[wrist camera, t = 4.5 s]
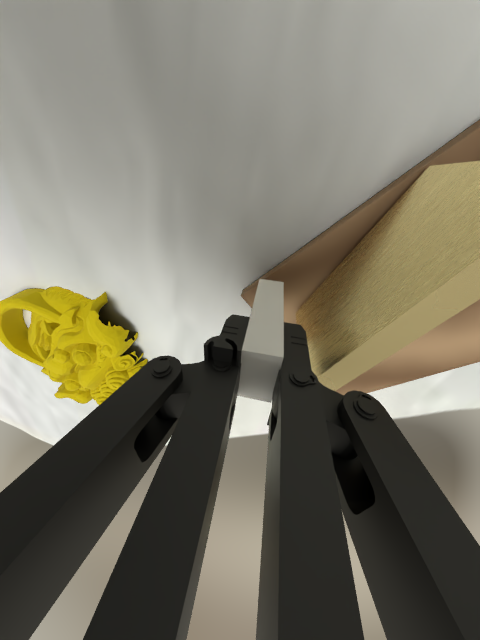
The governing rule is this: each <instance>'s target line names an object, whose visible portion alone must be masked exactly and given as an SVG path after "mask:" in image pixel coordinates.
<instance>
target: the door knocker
mask: <svg viewBox="0 0 480 640" xmlns="http://www.w3.org/2000/svg"><path fill="white" fill-rule="evenodd" d="M107 302H108V300H107V294H106V292H104V293H103V294H102V295H101V296H100V297H97V298H96V300H94V299H93V300H91V299H87V298H84V296H83V295H80V294H78V293H74V292H73V291H71V290H68V289H63V288H61V287H57V286H55V287H50V288H48V289H46V290H44V289H37V288H34V289H26V290H23V291H21V292H19V293H17V294H15V295H13V296H11V297H9V298H6V299H4V300H2V301H0V341H1V342H2V343H3V344H4V345H5V346H6V347H7V348H8V349H9V350H11V351H12V352H13V353H15V354H17V355H18V356H20V357H22V358H24V359H26V360H28V361H30V362H33V363H35V364H37V365H40V366H42V367H44V368H43V369H42V371H41V372H43V373H45V374H46V375H49V377H50V379H51V380H52V381H55V382H62V385H61V386H60V387H59V388H58V391H57V393H56V394H54V395H55V397H56V398H71V399H73V400H75V401H77V402H78V403H82V404H84V403H88V402H89V401H90V400H92V399H94V400H96V402H97V404H99V405H100V404H101V403H102V402H104V401H105V400H106V399H107V398H108V397H109V396H110V395H112V394H113V393H114V392H115V391H116V390H117V389H118V388H119V387H121V386H122V385H123V384H124V383H125V382H126V381H127V380H128V379H130V378H131V377H132V376H133V375H134V374H135V373H136V372H138V371H139V370H140V369H141V367H140V366H144V365H145V364H147V361H148V360H147V359H145V360H143V361H142V362H140V363H138V364H137V365H135V364H136V363H137V362H138V361H139V360H140V359H141V357H142V356H143V353H142V354H141V356H140V357H139V358H138V357H137V356H136V355H135V353H136V352H135V351H134V352H132V353H130V354H132V355H134V356H136V357H137V360H136V363H135V360H134V358H132V357H131V356H130V355H125V356H121V357H120V355H122V354H123V353H124V352H125V351H126V350H127V349H128V348H129V347H130V346H131V345H132V344H133V342H134V341H135V340H136V339H137V337H138V332H137V333H136V335H135V336H134V338H135V340H134V341H133V340H132V338H131V339H129V340H128V341H127V342H125V339H127V336H128V333H129V330H124V329H123V328H122V327H121V326H115V325H114V326H111V324H110V322H108V326H107V325H104V324H103V323H101V321H100V320H99V315H98V313H99V310H100V309H101V308H102V307H103V306H104V305H105V304H106V303H107ZM23 309H24V310H28V311H31V312H32V314H31V324H30V327H29V329H28V328H27V326H26V324H25V322H24V319H23ZM134 365H135V366H134Z"/></svg>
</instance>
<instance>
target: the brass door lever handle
mask: <svg viewBox="0 0 480 640" xmlns="http://www.w3.org/2000/svg"><path fill="white" fill-rule="evenodd" d="M479 299H480V161H472V162H463V163H453V164H443V165H433V166H429V167H428V168H427V169H426V170H425V171H424V173H423V174H422V175H421V176H420V177H419V178H418V179H417V180H416V181H415V182H414V184H413V185H412V186H411V187H410V188H409V189H408V190H407V191H406V192H405V193H404V194H403V196H402V197H401V198H400V199H399V200H398V201H397V202H396V203H395V204H394V205H393V207H392V208H391V209H390V210H389V211H388V212H387V213H386V214H385V215H384V216H383V218H382V219H381V220H380V221H379V222H378V223H377V224H376V225H375V226H374V227H373V229H372V230H371V231H370V232H369V233H368V234H367V235H366V236H365V237H364V238H363V239H362V241H361V242H360V243H359V244H358V245H357V246H356V247H355V248H354V249H353V250H352V252H351V253H350V254H349V255H348V256H347V257H346V258H345V259H344V260H343V261H342V263H341V264H340V265H339V266H338V267H337V268H336V269H335V270H334V271H333V272H332V273H331V275H330V276H329V277H328V278H327V279H326V280H325V281H324V282H323V283H322V284H321V286H320V287H319V288H318V289H317V290H316V291H315V292H314V293H313V294H312V295H311V297H310V298H309V299H308V300H307V301H306V302H305V303H304V304H303V305H302V306H301V307H300V309H299V310H298V311H297V312H296V324H299V325H301V326H302V327H303V329H304V330H305V331H306V336H307V343H308V349H309V356H310V363H311V369H312V372H313V373H314V374H315V375H316V376H317V378H318V381H319V382H320V383H321V384H322V385H324V386H325V387H327V388H329V389H331V390H333V391H336V390H338V389H339V388H341V387H342V386H344V385H345V384H347V383H349V382H350V381H352V380H353V379H355V378H356V377H358V376H360V375H361V374H363V373H364V372H366V371H367V370H369V369H371V368H372V367H374V366H375V365H377V364H378V363H380V362H382V361H383V360H385V359H386V358H388V357H390V356H391V355H393V354H394V353H396V352H397V351H399V350H401V349H402V348H404V347H405V346H407V345H408V344H410V343H412V342H413V341H415V340H416V339H418V338H419V337H421V336H423V335H424V334H426V333H427V332H429V331H430V330H432V329H434V328H435V327H437V326H438V325H440V324H441V323H443V322H445V321H446V320H448V319H449V318H451V317H452V316H454V315H456V314H457V313H459V312H460V311H462V310H463V309H465V308H467V307H468V306H470V305H471V304H473V303H475V302H476V301H478V300H479Z"/></svg>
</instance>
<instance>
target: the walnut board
mask: <svg viewBox="0 0 480 640" xmlns="http://www.w3.org/2000/svg"><path fill="white" fill-rule="evenodd" d="M472 161H480V120H478V121H477V122H476V123H474V124H473V125H472V126H470V127H469V128H467V129H466V130H465V131H463V132H462V133H460V134H459V135H458V136H456V137H455V138H453V139H452V140H451V141H449V142H448V143H447V144H445V145H444V146H442V147H441V148H440V149H438V150H437V151H435V152H434V153H433V154H431V155H430V156H428V157H427V158H426V159H424V160H423V161H422V162H420V163H419V164H417V165H416V166H415V167H413V168H412V169H410V170H409V171H408V172H406V173H405V174H403V175H402V176H401V177H399V178H398V179H397V180H395V181H394V182H392V183H391V184H390V185H388V186H387V187H385V188H384V189H383V190H381V191H380V192H378V193H377V194H376V195H374V196H373V197H372V198H370V199H369V200H367V201H366V202H365V203H363V204H362V205H360V206H359V207H358V208H356V209H355V210H353V211H352V212H351V213H349V214H348V215H347V216H345V217H344V218H342V219H341V220H340V221H338V222H337V223H335V224H334V225H333V226H331V227H330V228H328V229H327V230H326V231H324V232H323V233H322V234H320V235H319V236H317V237H316V238H315V239H313V240H312V241H310V242H309V243H308V244H306V245H305V246H303V247H302V248H301V249H299V250H298V251H297V252H295V253H294V254H292V255H291V256H290V257H288V258H287V259H285V260H284V261H283V262H281V263H280V264H279V265H277V266H276V267H274V268H273V269H272V270H270V271H269V272H267V273H266V274H265V275H263V276H262V277H260V278H259V279H265V280H272V281H279V282H284V322H286V323H293V324H296V312H297V311H298V310H299V309H300V307H301V306H302V305H303V304H304V303H305V302H306V301H307V300H308V299H309V298H310V297H311V295H312V294H313V293H314V292H315V291H316V290H317V289H318V288H319V287H320V286H321V284H322V283H323V282H324V281H325V280H326V279H327V278H328V277H329V276H330V275H331V273H332V272H333V271H334V270H335V269H336V268H337V267H338V266H339V265H340V264H341V263H342V261H343V260H344V259H345V258H346V257H347V256H348V255H349V254H350V253H351V252H352V250H353V249H354V248H355V247H356V246H357V245H358V244H359V243H360V242H361V241H362V239H363V238H364V237H365V236H366V235H367V234H368V233H369V232H370V231H371V230H372V229H373V227H374V226H375V225H376V224H377V223H378V222H379V221H380V220H381V219H382V218H383V216H384V215H385V214H386V213H387V212H388V211H389V210H390V209H391V208H392V207H393V205H394V204H395V203H396V202H397V201H398V200H399V199H400V198H401V197H402V196H403V194H404V193H405V192H406V191H407V190H408V189H409V188H410V187H411V186H412V185H413V184H414V182H415V181H416V180H417V179H418V178H419V177H420V176H421V175H422V174H423V173H424V171H425V170H426V169H427V168H428V167H429V166H433V165H443V164H453V163H463V162H472ZM259 279H258V280H256V281H255V282H254V283H252V284H251V285H249V286H248V287H247V288H245V289H244V290H243V291H242V294H241V297H242V298H243V299H244V300H245V301H246V302H247V303H248V304H249V305H250V307H251V308H252V307H253V303H254V299H255V295H256V291H257V287H258V283H259ZM477 362H480V299H479V300H478V301H476V302H475V303H473V304H471V305H470V306H468V307H467V308H465V309H463V310H462V311H460V312H459V313H457V314H456V315H454V316H452V317H451V318H449V319H448V320H446V321H445V322H443V323H441V324H440V325H438V326H437V327H435V328H434V329H432V330H430V331H429V332H427V333H426V334H424V335H423V336H421V337H419V338H418V339H416V340H415V341H413V342H412V343H410V344H408V345H407V346H405V347H404V348H402V349H401V350H399V351H397V352H396V353H394V354H393V355H391V356H390V357H388V358H386V359H385V360H383V361H382V362H380V363H378V364H377V365H375V366H374V367H372V368H371V369H369V370H367V371H366V372H364V373H363V374H361V375H360V376H358V377H356V378H355V379H353V380H352V381H350V382H349V383H347V384H345V385H344V386H342V387H341V388H339V389H338V390H336V391H335V392H338V393H340V394H342V395H345V394H346V393H347V392H348V391H353V390H356V391H362V392H364V393H369V392H373V391H376V390H380V389H383V388H387V387H391V386H394V385H398V384H401V383H405V382H408V381H412V380H416V379H419V378H423V377H426V376H430V375H434V374H437V373H441V372H444V371H448V370H451V369H455V368H459V367H462V366H466V365H469V364H473V363H477Z"/></svg>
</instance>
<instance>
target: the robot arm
mask: <svg viewBox="0 0 480 640" xmlns="http://www.w3.org/2000/svg"><path fill="white" fill-rule="evenodd" d="M237 396H242V397H247V398H251V399H256V400H261V401H266V402H271V401H272V409H271V413H270V416H269V419H268V423H267V425H269V436H268V453H267V468H266V484H265V501H264V518H263V534H262V550H261V566H260V582H259V599H258V614H257V631H256V640H364V636H363V630H362V625H361V619H360V613H359V607H358V602H357V596H356V590H355V584H354V578H353V573H352V567H351V561H350V555H349V550H348V544H347V538H346V533H345V527H344V521H343V516H342V512H343V515H344V518H345V521H346V523H347V526H348V529H349V532H350V535H351V538H352V541H353V543H354V546H355V549H356V552H357V555H358V558H359V560H360V563H361V566H362V569H363V572H364V574H365V578H366V581H367V583H368V586H369V589H370V592H371V595H372V598H373V601H374V603H375V606H376V609H377V612H378V615H379V618H380V621H381V623H382V626H383V629H384V632H385V635H386V638H387V640H480V546H479V544H478V543H477V541H476V540H475V539H474V537H473V536H472V534H471V533H470V531H469V530H468V528H467V527H466V526H465V524H464V523H463V521H462V520H461V518H460V517H459V515H458V514H457V513H456V511H455V510H454V508H453V507H452V505H451V504H450V502H449V501H448V500H447V498H446V497H445V495H444V494H443V492H442V491H441V490H440V488H439V486H438V485H437V483H436V482H435V481H434V479H433V478H432V476H431V475H430V473H429V472H428V470H427V469H426V467H425V466H424V465H423V463H422V462H421V460H420V459H419V457H418V456H417V454H416V453H415V452H414V450H413V449H412V447H411V446H410V444H409V443H408V441H407V440H406V439H405V437H404V436H403V434H402V433H401V431H400V430H399V428H398V427H397V426H396V424H395V423H394V421H393V420H392V418H391V417H390V415H389V414H388V412H387V411H386V409H385V408H384V407H383V406H382V405H381V403H380V402H379V401H378V400H376V399H375V398H374V397H372V396H371V395H369V394H366V393H364V392H362V391H356V390H353V391H348V392H347V393H346V394H345V395H342V394H340V393H338V392H335V391H333V390H331V389H329V388H327V387H325V386H324V385H322V384H321V383H320V382H319V381H318V378H317V376H316V375H315V374H314V373H313V372H312V369H311V363H310V356H309V349H308V343H307V336H306V331H305V330H304V329H303V327H302V326H301V325H299V324H293V323H286V322H284V282H279V281H272V280H265V279H259V283H258V287H257V291H256V295H255V299H254V303H253V307H252V311H251V315H250V317H245V316H239V315H231V316H230V317H229V318H228V319H226V322H225V324H224V327H223V329H222V332H221V334H220V336H216V337H212V338H210V339H209V340H207V341H206V343H205V344H204V361H202V362H199V363H194V364H182V365H181V363H180V361H179V360H178V359H176V358H175V357H172V356H160V357H157V358H154V359H152V360H151V361H149V362H148V363H147V364H145V365H144V366H143V367H142V368H141V369H140V370H139V371H138V372H136V373H135V374H134V375H133V376H132V377H131V378H130V379H128V380H127V381H126V382H125V383H124V384H123V385H122V386H121V387H119V388H118V389H117V390H116V391H115V392H114V393H113V394H112V395H110V396H109V397H108V398H107V399H106V400H105V401H104V402H102V403H101V404H100V405H99V406H98V407H97V408H96V409H95V410H93V411H92V412H91V413H90V414H89V415H88V416H87V417H86V418H84V419H83V420H82V421H81V422H80V423H79V424H78V425H76V426H75V427H74V428H73V429H72V430H71V431H70V432H69V433H67V434H66V435H65V436H64V437H63V438H62V439H61V440H60V441H58V442H57V443H56V444H55V445H54V446H53V447H52V448H51V449H49V450H48V451H47V452H46V453H45V454H44V455H43V456H42V457H40V458H39V459H38V460H37V461H36V462H35V463H34V464H32V465H31V466H30V467H29V468H28V469H27V470H26V471H25V472H23V473H22V474H21V475H20V476H19V477H18V478H17V479H16V480H14V481H13V482H12V483H11V484H10V485H9V486H8V487H6V488H5V489H4V490H3V491H2V492H1V493H0V640H29V638H30V637H31V636H32V634H33V633H34V631H35V630H36V628H37V627H38V626H39V624H40V623H41V621H42V620H43V618H44V617H45V616H46V614H47V613H48V611H49V610H50V608H51V607H52V606H53V604H54V603H55V601H56V600H57V598H58V597H59V596H60V594H61V593H62V591H63V590H64V588H65V587H66V586H67V584H68V583H69V581H70V580H71V579H72V577H73V576H74V574H75V573H76V571H77V570H78V569H79V567H80V566H81V564H82V563H83V561H84V560H85V559H86V557H87V556H88V554H89V553H90V551H91V550H92V549H93V547H94V546H95V544H96V543H97V541H98V540H99V539H100V537H101V536H102V534H103V533H104V531H105V530H106V529H107V527H108V526H109V524H110V523H111V521H112V520H113V519H114V517H115V515H116V514H117V513H118V511H119V510H120V509H121V507H122V506H123V504H124V503H125V501H126V500H127V498H128V497H129V496H130V494H131V493H132V491H133V490H134V489H135V487H136V486H137V484H138V483H139V481H140V480H141V478H142V477H143V476H144V474H145V473H146V471H147V470H148V469H149V467H150V466H151V464H152V463H153V461H154V460H155V459H156V457H157V456H158V454H159V453H160V451H161V450H162V449H163V447H164V446H165V444H166V443H167V442H168V440H169V439H170V437H171V436H172V437H171V439H170V441H169V444H168V446H167V448H166V451H165V453H164V455H163V457H162V460H161V462H160V464H159V467H158V469H157V471H156V474H155V476H154V478H153V481H152V483H151V485H150V487H149V489H148V492H147V494H146V497H145V499H144V501H143V503H142V505H141V508H140V510H139V512H138V515H137V517H136V519H135V521H134V524H133V526H132V529H131V531H130V533H129V535H128V537H127V540H126V542H125V545H124V547H123V549H122V551H121V554H120V556H119V558H118V560H117V563H116V565H115V568H114V570H113V572H112V574H111V576H110V579H109V581H108V583H107V586H106V588H105V590H104V592H103V595H102V597H101V599H100V602H99V604H98V606H97V608H96V611H95V613H94V616H93V618H92V620H91V622H90V625H89V627H88V629H87V631H86V634H85V636H84V638H83V640H186V638H187V634H188V628H189V624H190V619H191V615H192V609H193V605H194V600H195V596H196V591H197V586H198V581H199V576H200V572H201V567H202V562H203V558H204V553H205V548H206V543H207V539H208V534H209V529H210V524H211V520H212V515H213V510H214V506H215V501H216V496H217V491H218V487H219V481H220V477H221V472H222V467H223V462H224V458H225V453H226V449H227V444H228V439H229V434H230V430H231V425H232V420H233V415H234V411H235V404H236V398H237ZM341 509H342V510H341Z"/></svg>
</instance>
